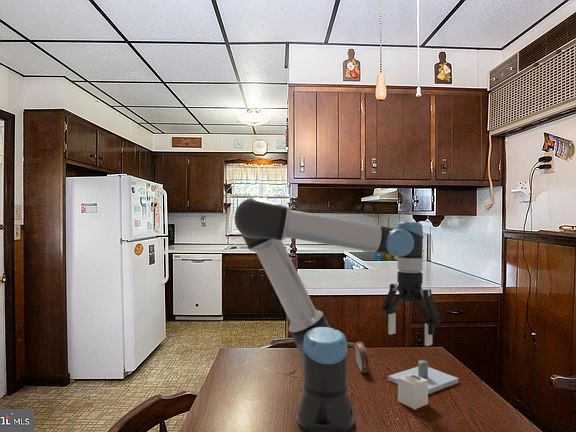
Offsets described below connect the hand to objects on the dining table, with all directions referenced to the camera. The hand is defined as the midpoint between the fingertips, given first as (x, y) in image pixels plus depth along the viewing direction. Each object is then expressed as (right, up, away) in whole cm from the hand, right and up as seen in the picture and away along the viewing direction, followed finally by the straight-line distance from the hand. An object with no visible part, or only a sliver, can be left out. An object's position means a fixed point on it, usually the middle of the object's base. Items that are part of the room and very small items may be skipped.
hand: (409, 339), depth 118 cm
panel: (+7, -17, +8) cm, 20 cm away
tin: (-11, -18, +20) cm, 29 cm away
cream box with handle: (-1, -17, -6) cm, 18 cm away
